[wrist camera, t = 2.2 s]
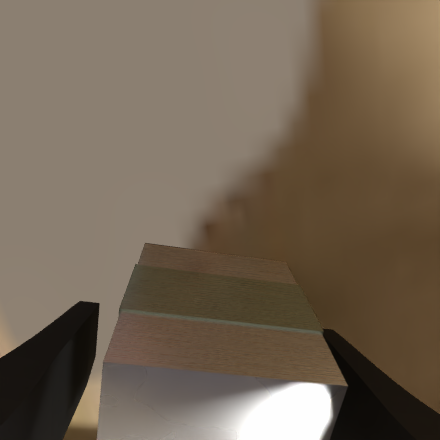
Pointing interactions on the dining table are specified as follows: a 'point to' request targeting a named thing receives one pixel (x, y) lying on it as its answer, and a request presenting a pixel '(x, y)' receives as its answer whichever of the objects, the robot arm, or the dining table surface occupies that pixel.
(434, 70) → the dining table surface
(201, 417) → the steel tin
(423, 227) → the dining table surface
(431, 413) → the robot arm
